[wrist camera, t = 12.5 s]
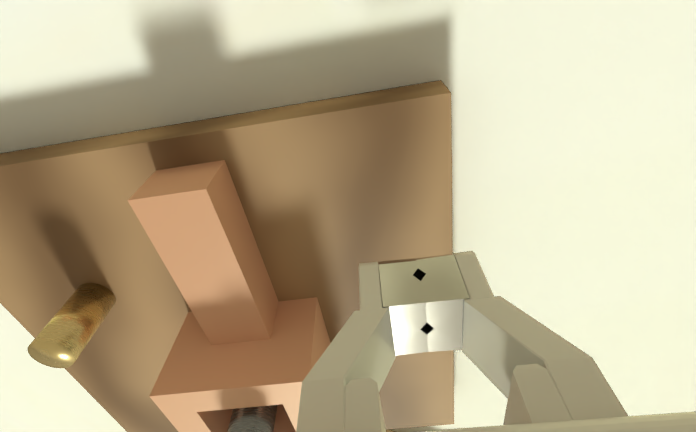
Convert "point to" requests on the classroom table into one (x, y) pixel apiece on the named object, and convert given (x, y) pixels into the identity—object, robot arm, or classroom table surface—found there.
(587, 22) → the classroom table surface
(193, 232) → the orange square-holed tool
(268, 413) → the post
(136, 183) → the board
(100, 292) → the dowel
